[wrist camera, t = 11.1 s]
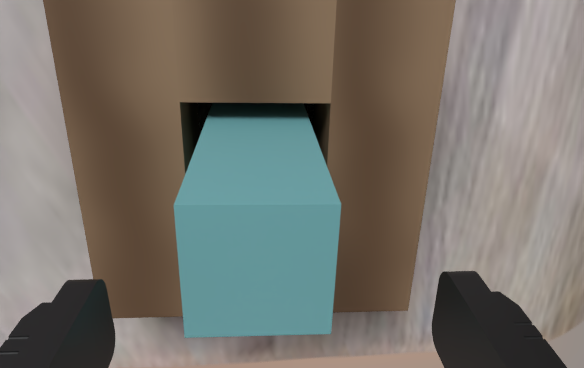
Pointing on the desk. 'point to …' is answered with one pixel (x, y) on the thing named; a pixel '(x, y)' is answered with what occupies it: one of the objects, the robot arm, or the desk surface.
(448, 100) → the desk surface
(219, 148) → the peg
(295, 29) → the socket block
